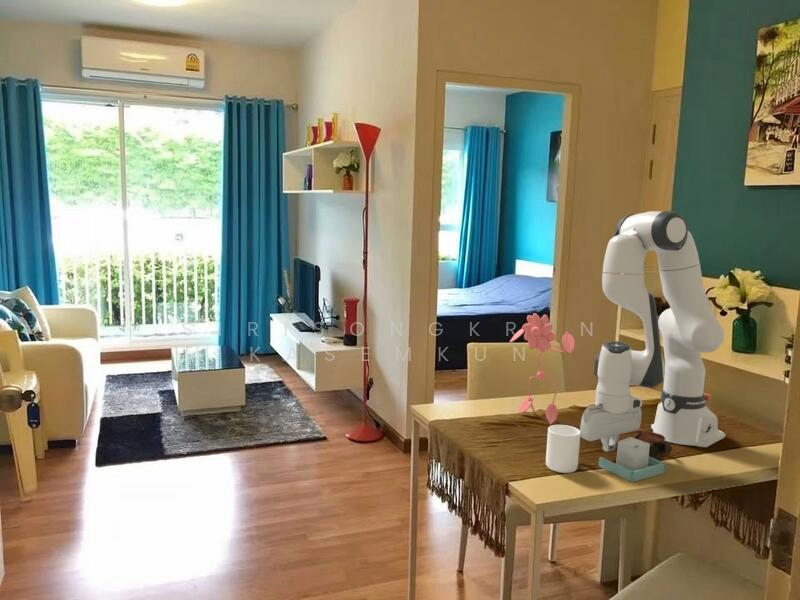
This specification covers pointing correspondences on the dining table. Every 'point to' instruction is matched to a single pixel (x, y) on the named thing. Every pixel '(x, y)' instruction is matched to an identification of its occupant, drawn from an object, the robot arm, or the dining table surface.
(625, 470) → the u-shaped bracket
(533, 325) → the pink flower stem
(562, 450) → the mug
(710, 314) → the robot arm
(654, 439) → the pottery mug
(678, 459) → the dining table surface
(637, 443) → the skincare box
